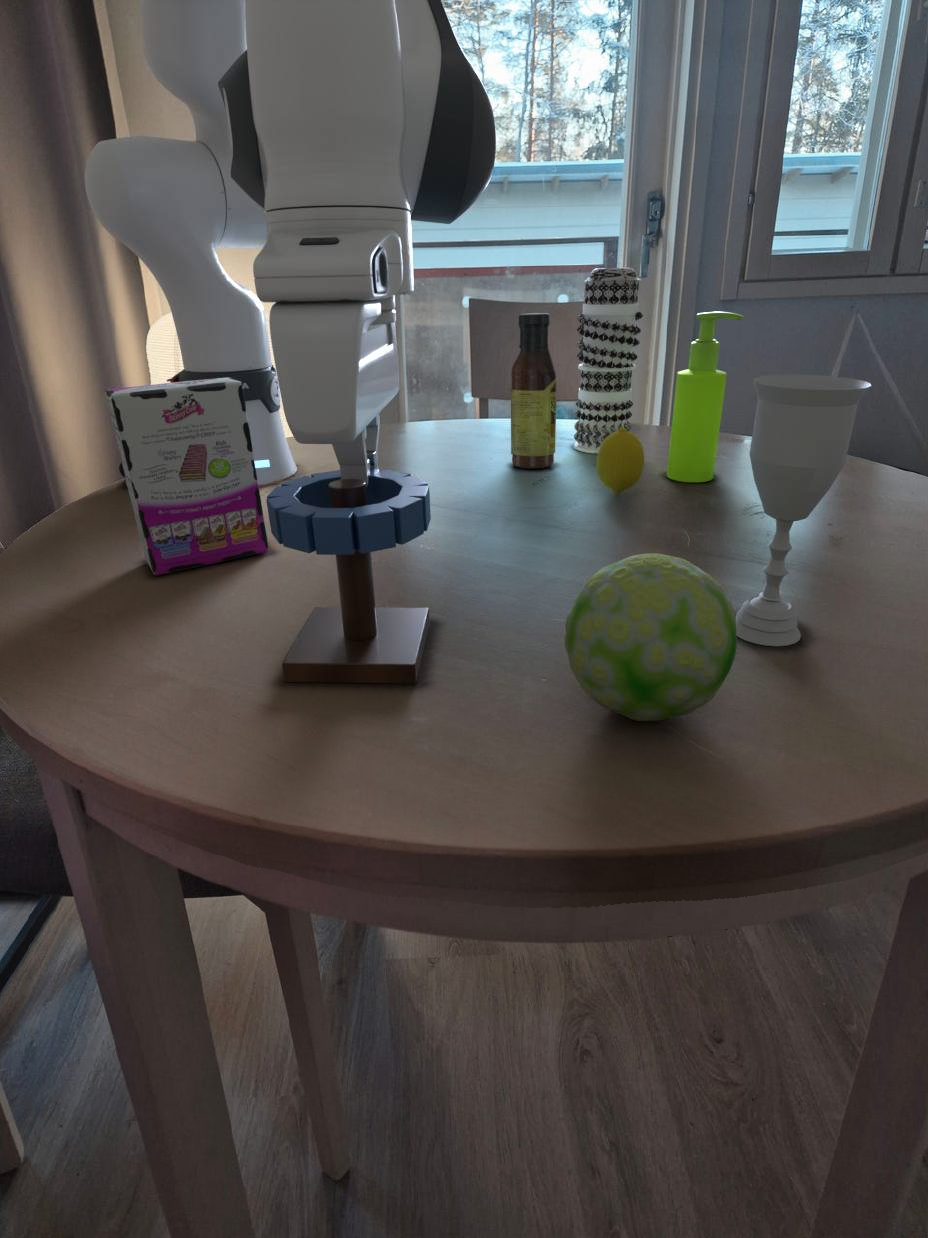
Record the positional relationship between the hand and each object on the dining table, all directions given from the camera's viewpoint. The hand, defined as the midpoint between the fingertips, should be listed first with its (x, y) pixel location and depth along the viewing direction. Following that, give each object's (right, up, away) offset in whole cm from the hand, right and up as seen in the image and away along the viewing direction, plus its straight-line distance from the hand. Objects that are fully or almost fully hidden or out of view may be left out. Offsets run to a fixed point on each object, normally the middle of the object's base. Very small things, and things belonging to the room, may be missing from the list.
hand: (361, 481), depth 51 cm
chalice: (+30, -11, +3) cm, 32 cm away
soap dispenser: (+38, +9, +43) cm, 58 cm away
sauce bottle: (+17, +12, +51) cm, 55 cm away
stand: (0, -12, +1) cm, 12 cm away
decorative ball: (+18, -16, -6) cm, 25 cm away
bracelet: (0, -3, -3) cm, 5 cm away
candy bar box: (-18, -4, +19) cm, 27 cm away
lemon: (+26, +5, +37) cm, 45 cm away
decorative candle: (+29, +17, +60) cm, 68 cm away
